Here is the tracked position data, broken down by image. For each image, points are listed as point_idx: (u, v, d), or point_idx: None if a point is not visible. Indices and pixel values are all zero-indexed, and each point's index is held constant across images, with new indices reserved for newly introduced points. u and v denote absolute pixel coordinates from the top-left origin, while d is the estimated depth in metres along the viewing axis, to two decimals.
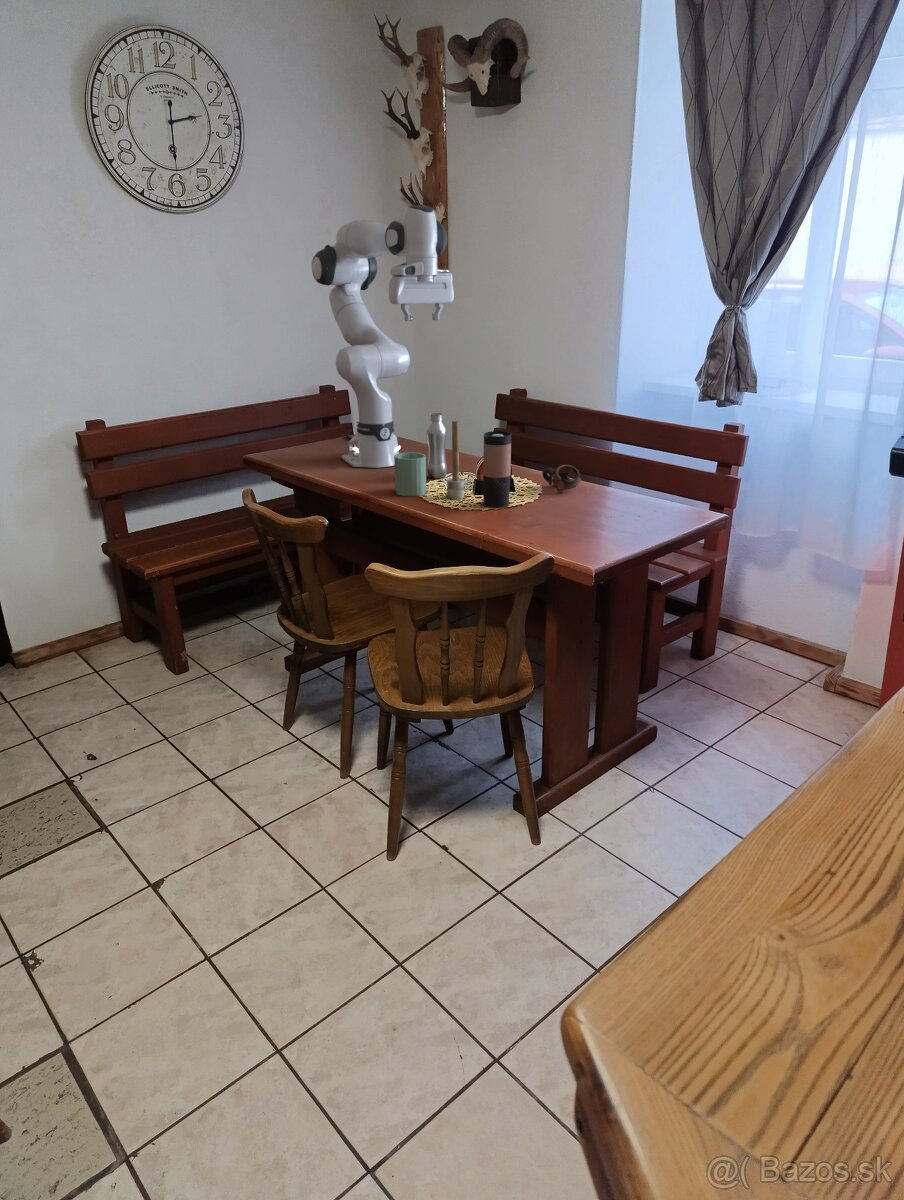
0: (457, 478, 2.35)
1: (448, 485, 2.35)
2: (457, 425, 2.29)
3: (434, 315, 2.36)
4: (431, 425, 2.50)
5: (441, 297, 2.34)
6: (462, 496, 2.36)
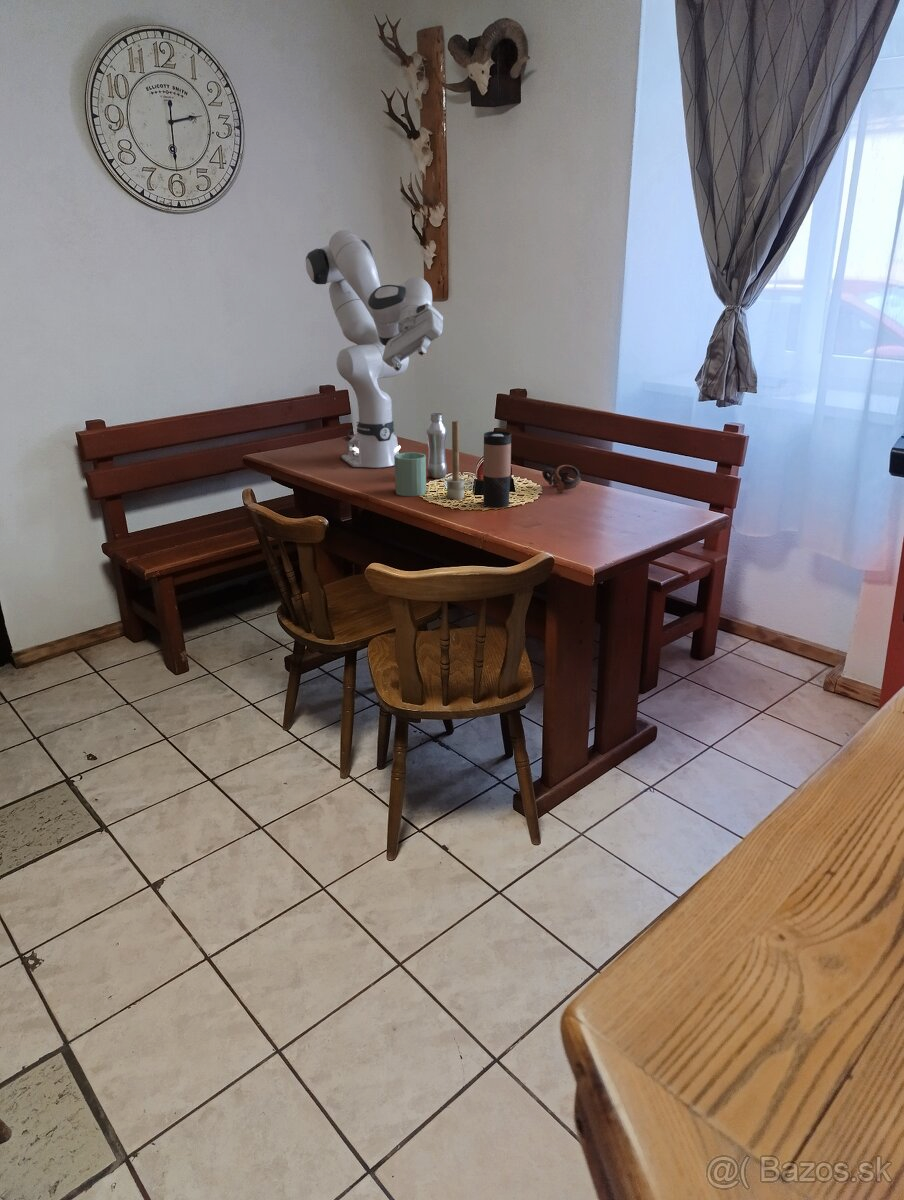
0: (457, 478, 2.35)
1: (448, 485, 2.35)
2: (457, 425, 2.29)
3: (400, 365, 2.25)
4: (431, 425, 2.50)
5: None
6: (462, 496, 2.36)
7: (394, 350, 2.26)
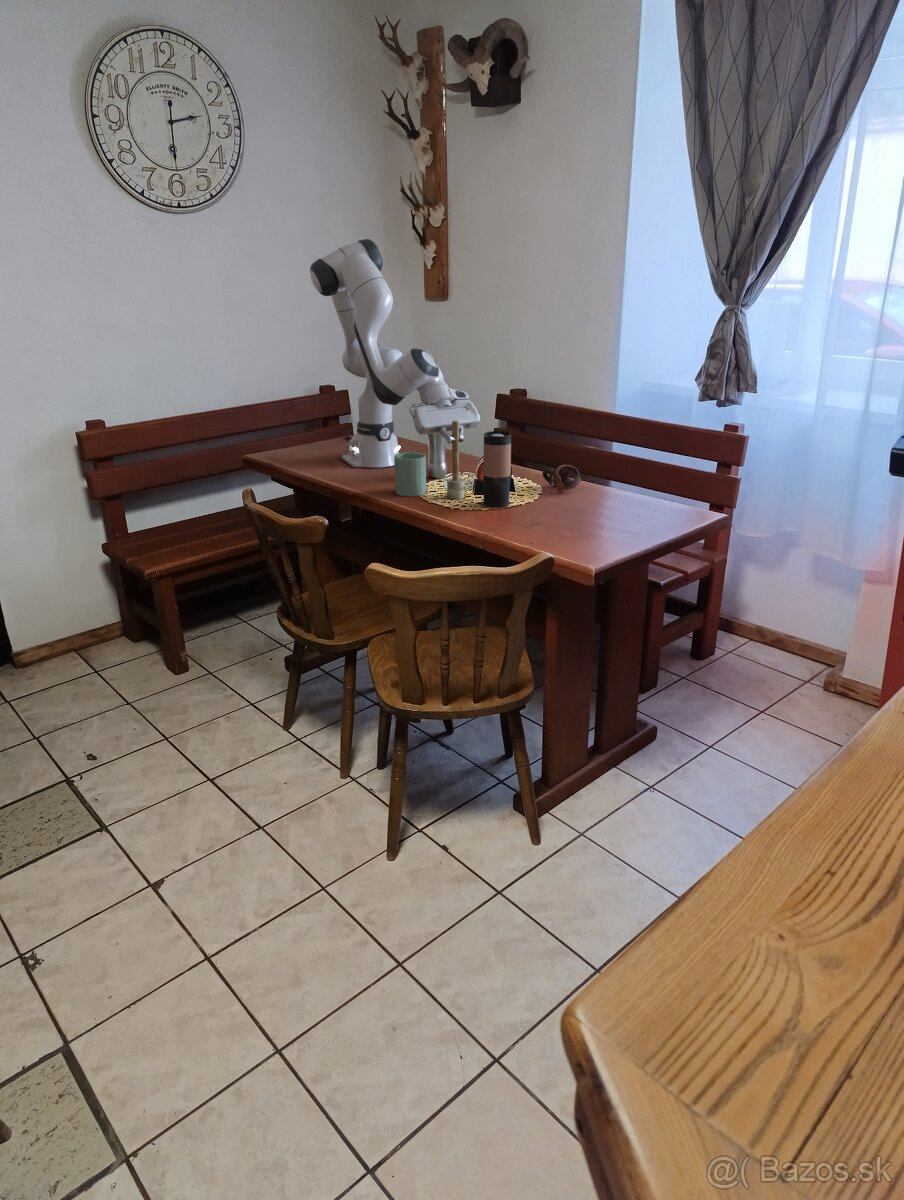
0: (457, 478, 2.35)
1: (448, 485, 2.35)
2: (457, 425, 2.29)
3: None
4: None
5: None
6: (462, 496, 2.36)
7: (436, 423, 2.28)
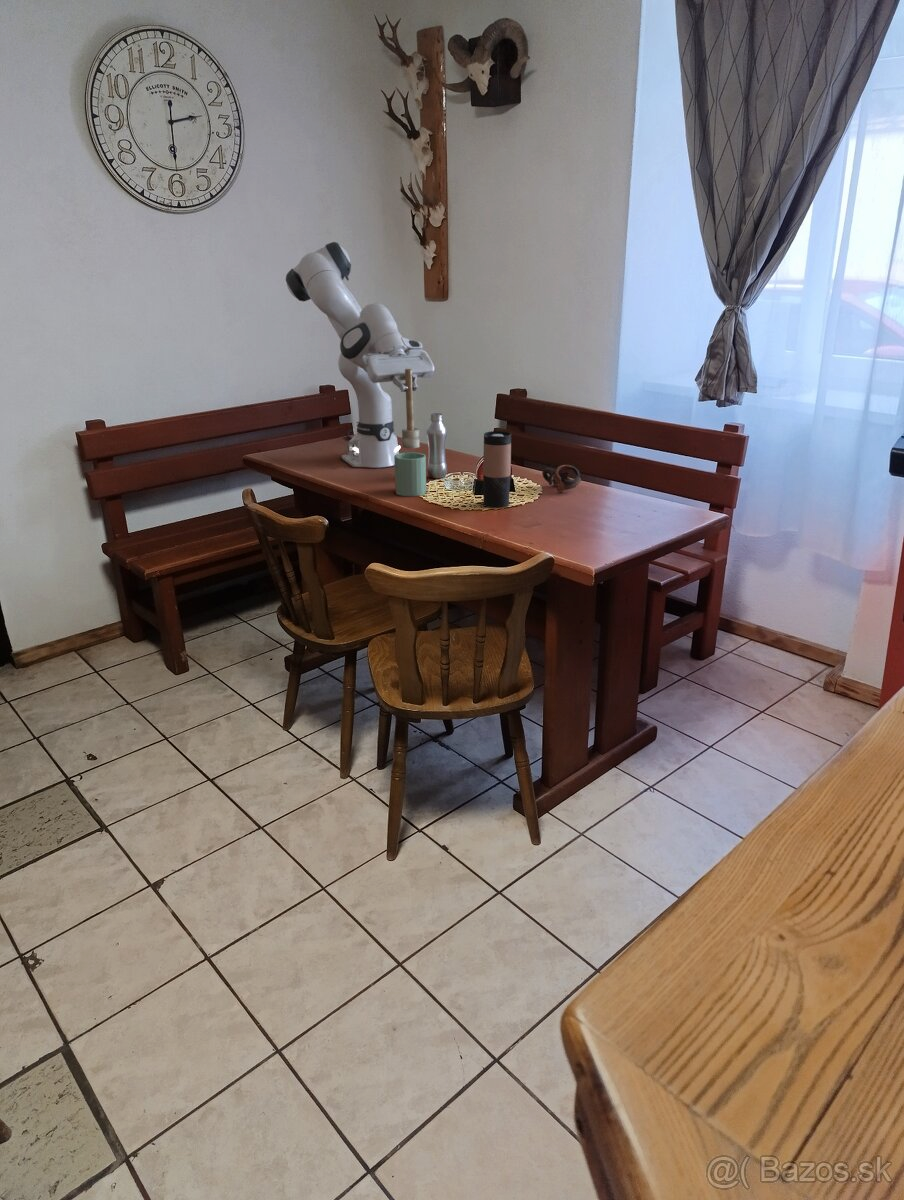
0: (412, 427, 2.34)
1: (403, 434, 2.35)
2: (410, 373, 2.28)
3: None
4: (431, 425, 2.50)
5: None
6: (417, 445, 2.36)
7: (389, 371, 2.28)
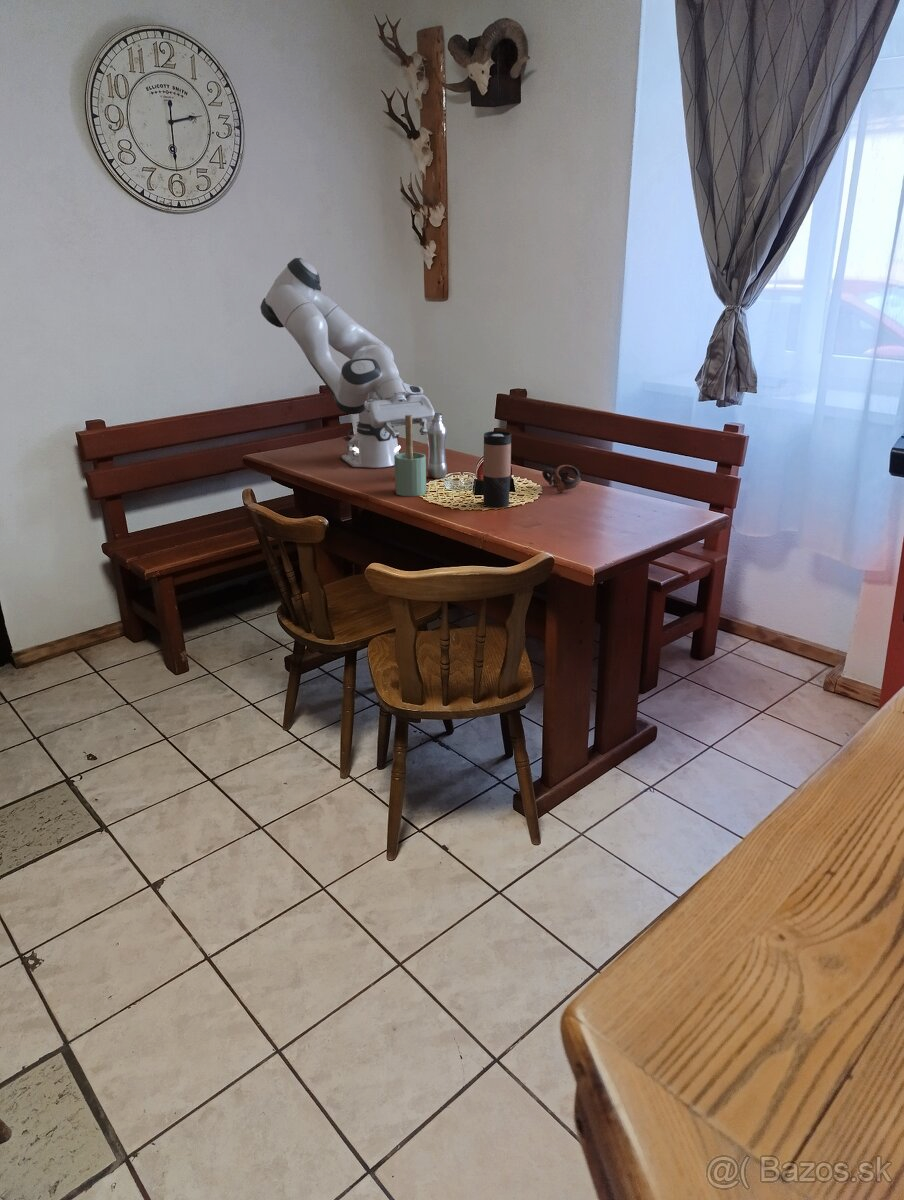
0: None
1: None
2: (410, 419, 2.33)
3: None
4: (431, 425, 2.50)
5: None
6: None
7: (390, 417, 2.33)
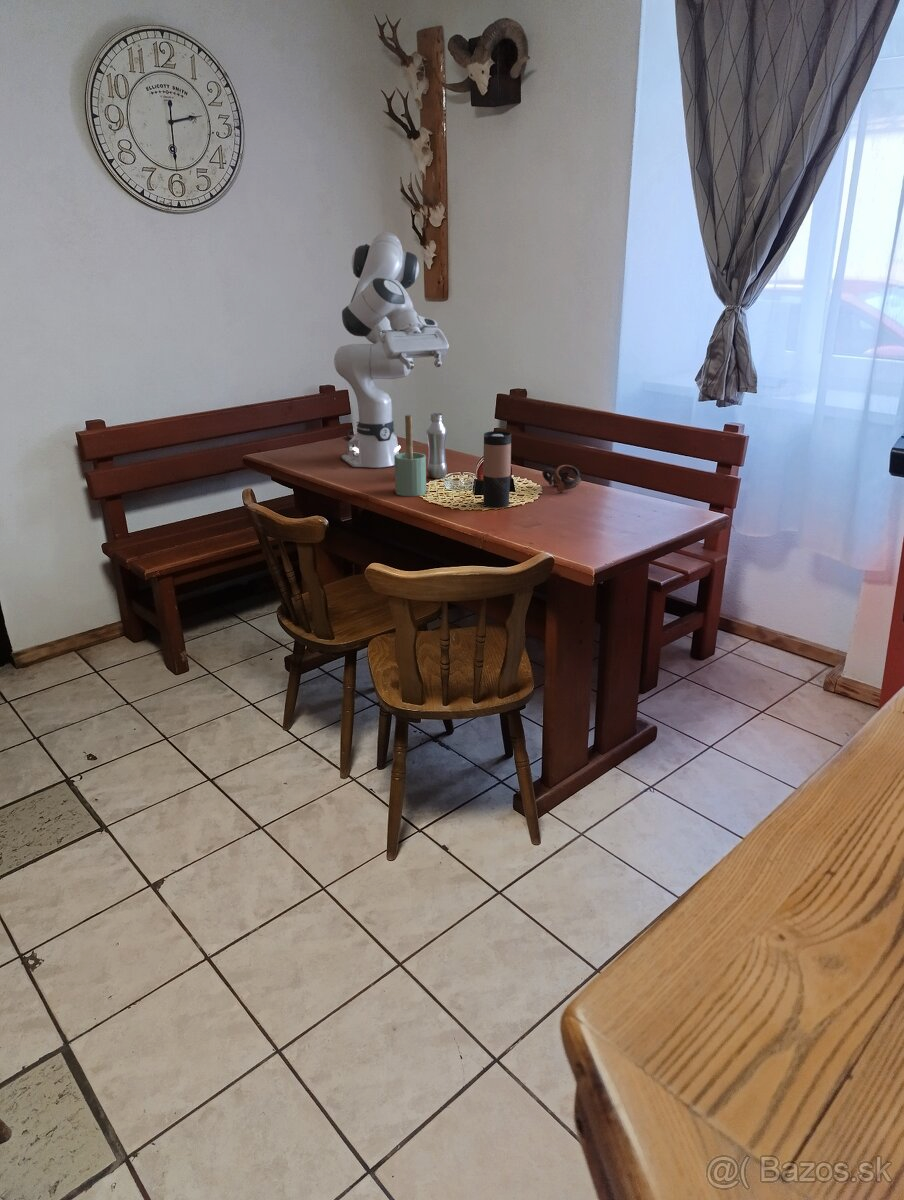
0: None
1: None
2: (410, 419, 2.33)
3: None
4: (431, 425, 2.50)
5: None
6: None
7: (405, 348, 2.33)
